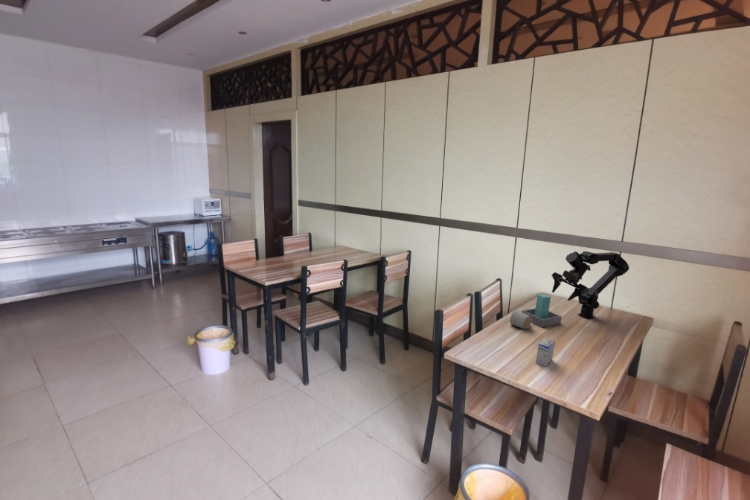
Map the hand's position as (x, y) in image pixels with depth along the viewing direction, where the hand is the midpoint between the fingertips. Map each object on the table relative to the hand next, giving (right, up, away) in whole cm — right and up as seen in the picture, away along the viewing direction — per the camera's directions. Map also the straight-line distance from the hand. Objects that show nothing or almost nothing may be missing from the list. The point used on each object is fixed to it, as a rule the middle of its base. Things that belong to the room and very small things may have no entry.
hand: (560, 296), depth 205 cm
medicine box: (-26, -22, -42) cm, 54 cm away
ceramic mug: (-23, -14, -7) cm, 28 cm away
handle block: (-10, -12, +1) cm, 16 cm away
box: (-10, -13, +1) cm, 16 cm away
